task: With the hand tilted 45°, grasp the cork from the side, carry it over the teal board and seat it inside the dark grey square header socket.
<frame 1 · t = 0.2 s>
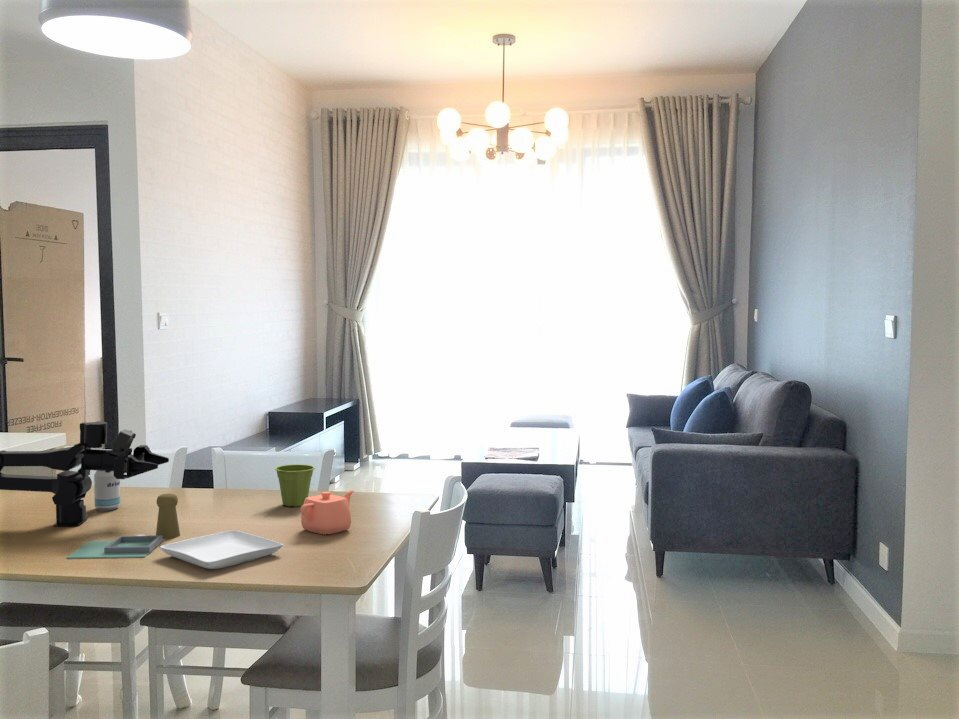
hand: (163, 463, 235), 17 cm above the table, tool horizontal, fingers open, 9 cm apart
beverage can: (107, 509, 252), on the table
teapot: (328, 530, 230), on the table
cork: (167, 536, 223), on the table
plant pot: (295, 505, 259), on the table
salad plate: (222, 558, 205), on the table
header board: (134, 548, 212), on the table
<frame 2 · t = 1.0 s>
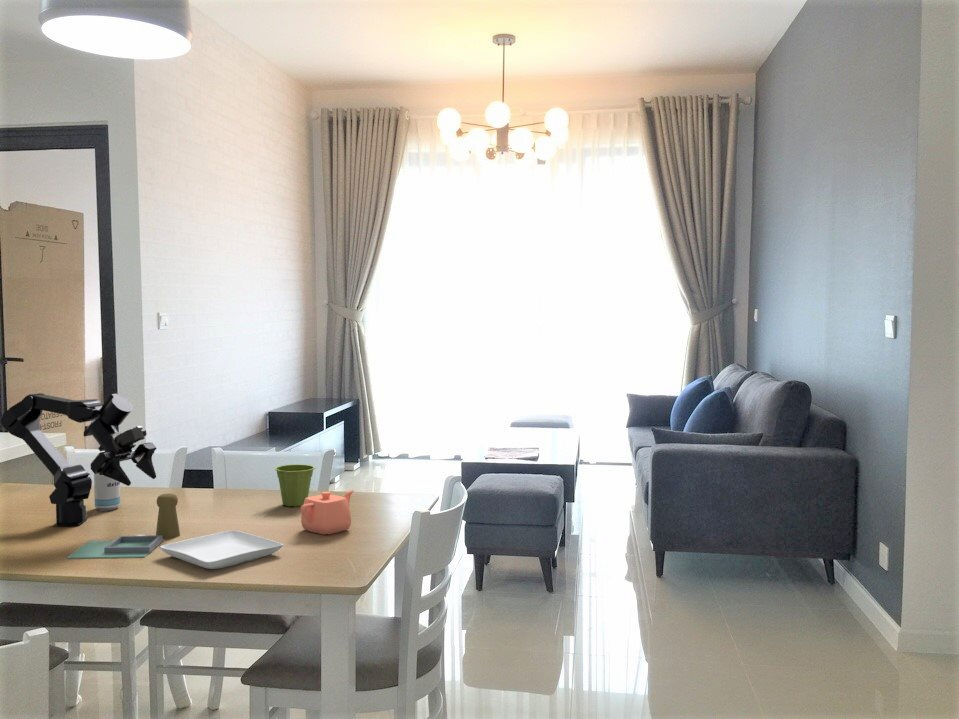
hand: (142, 481, 225), 14 cm above the table, tool tilted 45°, fingers open, 9 cm apart
nothing on the table moved.
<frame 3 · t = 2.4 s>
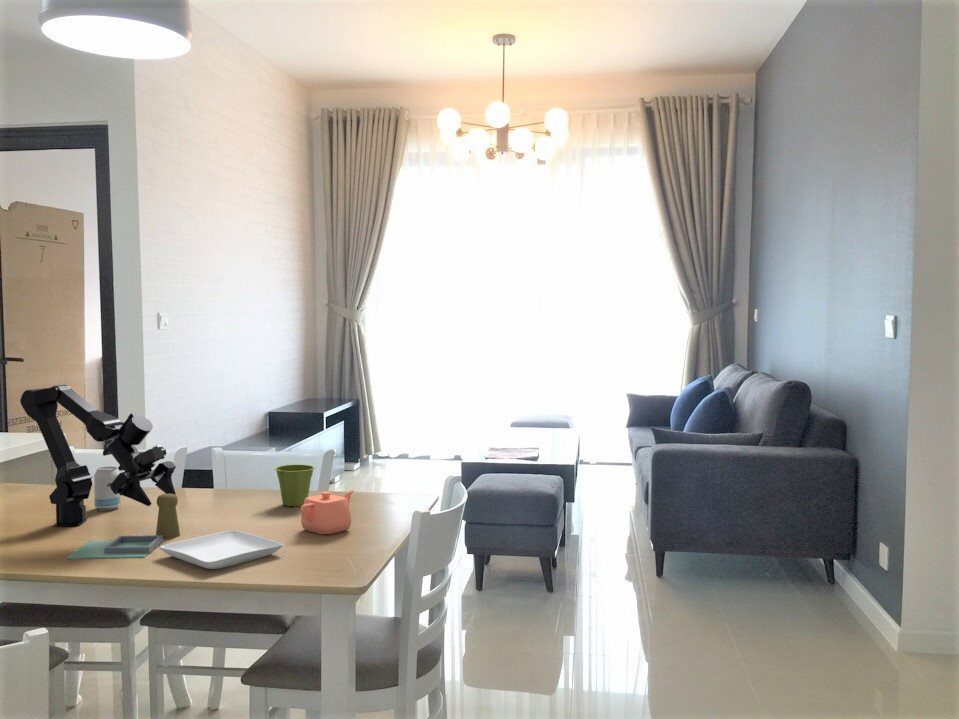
hand: (162, 501, 223), 9 cm above the table, tool tilted 45°, fingers open, 9 cm apart
nothing on the table moved.
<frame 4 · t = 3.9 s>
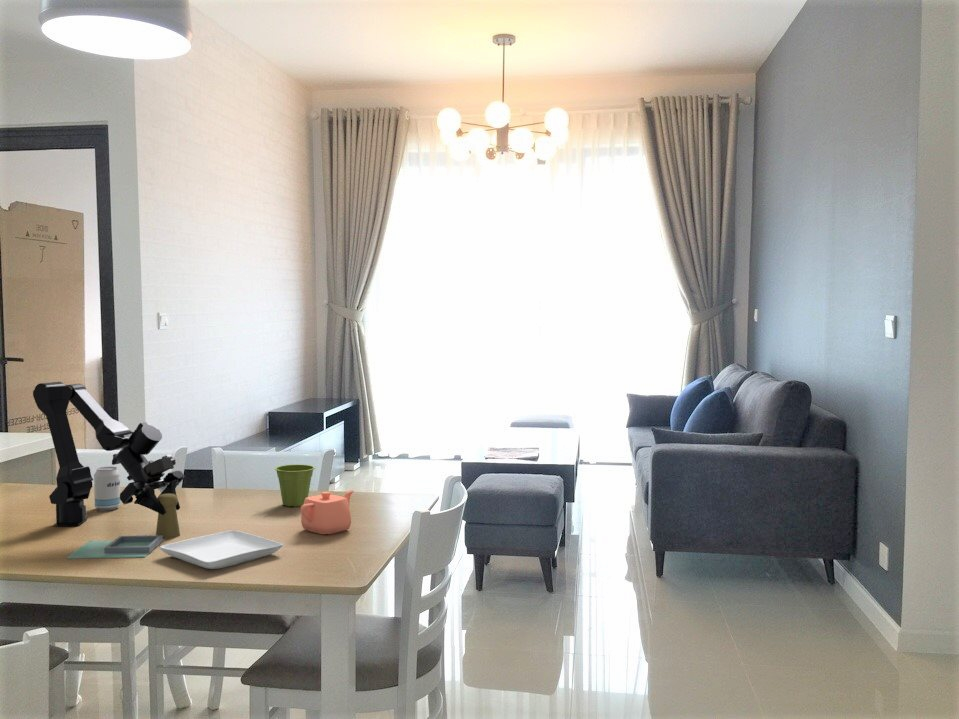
hand: (171, 511, 222), 7 cm above the table, tool tilted 45°, fingers closed on cork, 5 cm apart
cork: (167, 536, 223), on the table, touching gripper
everything else where it was.
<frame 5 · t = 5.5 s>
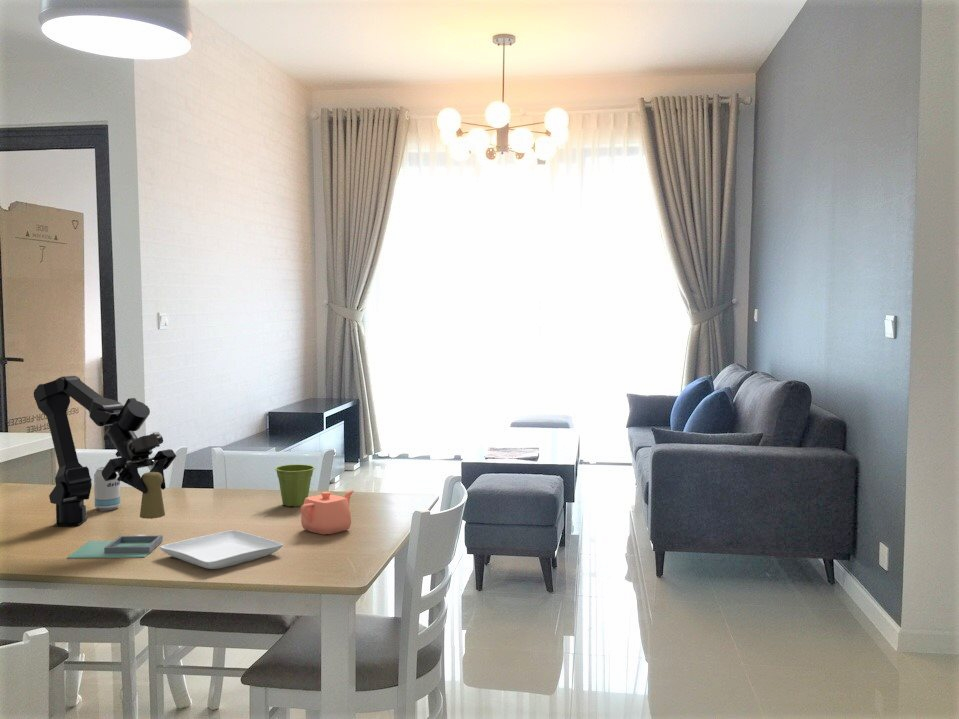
hand: (155, 490, 215), 13 cm above the table, tool tilted 45°, fingers closed on cork, 5 cm apart
cork: (152, 516, 217), point 7 cm above the table, touching gripper
everything else where it was.
when the fingers open (8 cm above the table, at t = 7.5 s): cork drops 1 cm, resting on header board.
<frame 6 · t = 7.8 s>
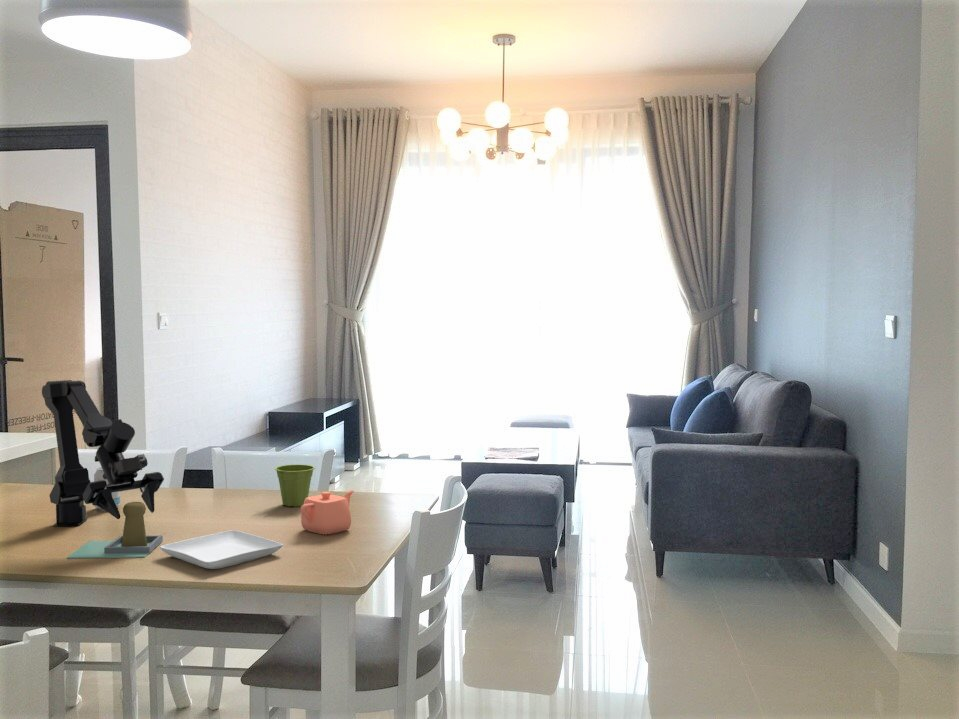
hand: (136, 514, 210), 9 cm above the table, tool tilted 45°, fingers open, 8 cm apart
cork: (134, 547, 212), resting on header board
everything else where it was.
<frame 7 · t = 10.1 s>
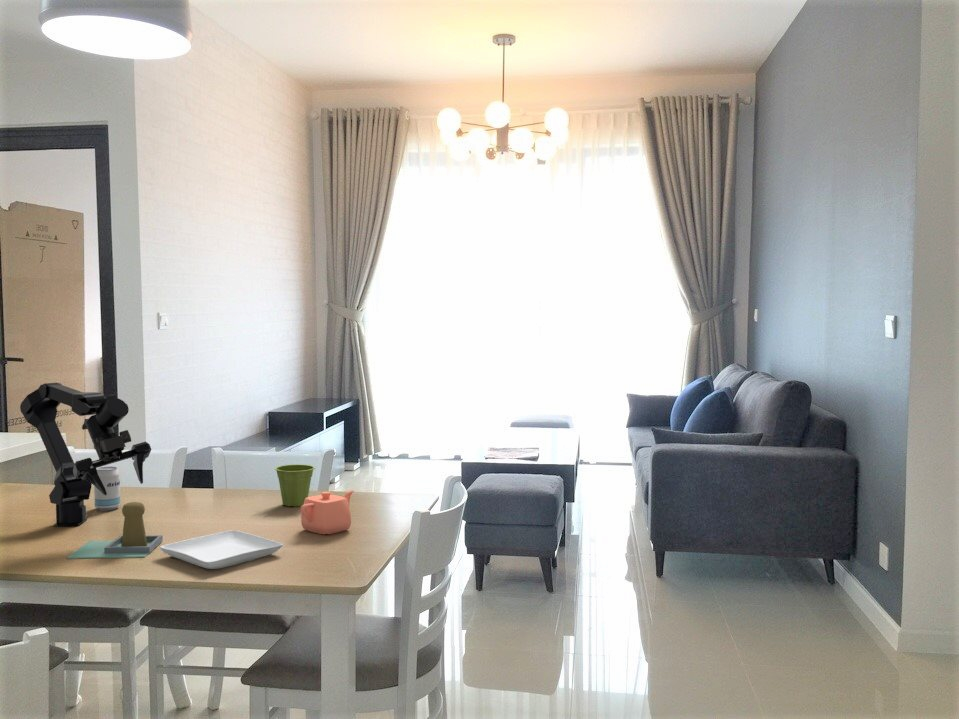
hand: (124, 488, 220), 13 cm above the table, tool tilted 35°, fingers open, 9 cm apart
nothing on the table moved.
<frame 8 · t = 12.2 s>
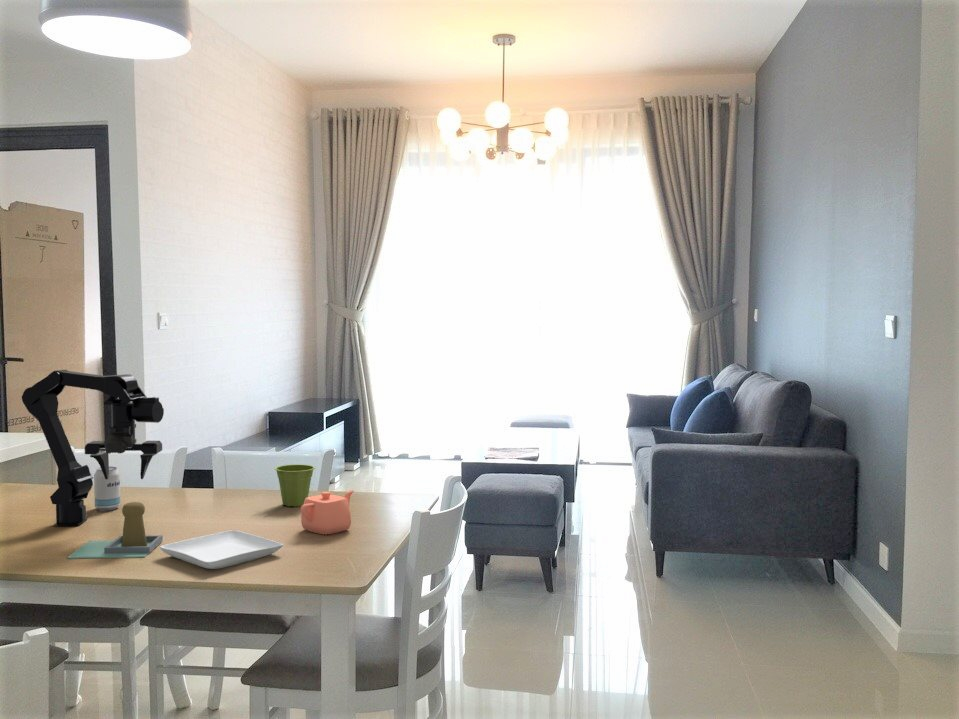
hand: (124, 479, 231), 13 cm above the table, tool pointing down, fingers open, 9 cm apart
nothing on the table moved.
at the end: cork 0.1 cm off-centre on the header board, point 0.1 cm above the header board's base; cork tilted 0°; the gripper is holding nothing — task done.
